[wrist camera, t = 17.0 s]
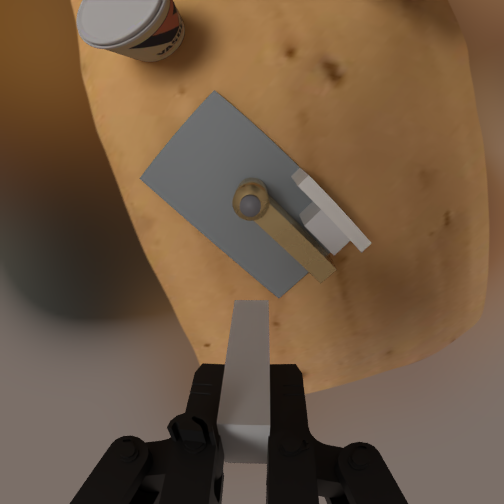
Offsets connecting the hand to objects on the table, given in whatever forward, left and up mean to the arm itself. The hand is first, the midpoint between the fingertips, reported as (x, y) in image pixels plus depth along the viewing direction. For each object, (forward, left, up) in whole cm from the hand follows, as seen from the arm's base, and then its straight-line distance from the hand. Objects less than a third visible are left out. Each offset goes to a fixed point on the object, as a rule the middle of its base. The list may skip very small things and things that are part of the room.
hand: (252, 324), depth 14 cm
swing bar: (-1, +4, -23) cm, 23 cm away
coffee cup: (-8, -24, -25) cm, 36 cm away
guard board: (0, -1, -25) cm, 25 cm away
